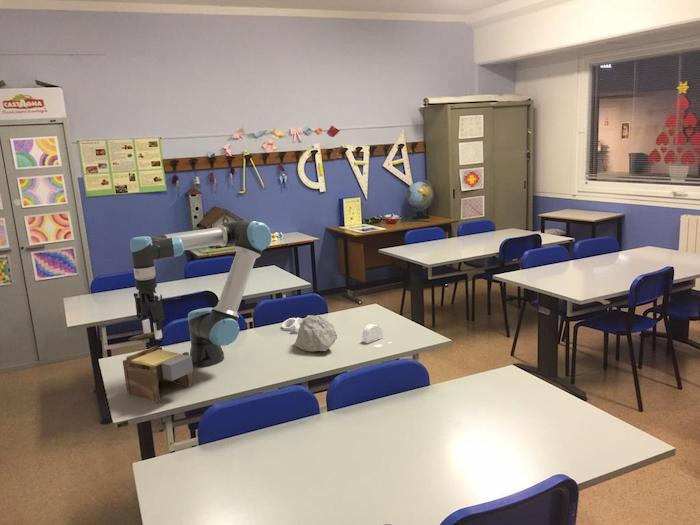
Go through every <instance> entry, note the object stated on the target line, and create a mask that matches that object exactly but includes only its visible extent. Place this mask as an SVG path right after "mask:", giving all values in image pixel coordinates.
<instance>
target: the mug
mask: <svg viewBox="0 0 700 525" xmlns="http://www.w3.org/2000/svg"><path fill="white" fill-rule="evenodd" d="M304 319H305V318H301V317H291V318H288V319H286V320H284V321H283V322H282V325H281V327H282V329H283V330H285V331H296V330H297V329H298V330H299V328H300V326H301V323H302V321H303V320H304ZM299 321H300V323H299Z"/></svg>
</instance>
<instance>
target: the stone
mask: <svg viewBox="0 0 700 525" xmlns="http://www.w3.org/2000/svg"><path fill="white" fill-rule="evenodd" d="M163 333H164V331H162V334H163ZM153 338H155V333H154V331H151V333H145V334H144V333H140V334H138V335H137V334H136V335H133V336H132V337H129V338H127V340H128V341H133V342H134V341H135V342H136V341H137V342H138V341H145V340H149V339H153Z"/></svg>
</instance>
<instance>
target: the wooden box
mask: <svg viewBox="0 0 700 525" xmlns="http://www.w3.org/2000/svg"><path fill="white" fill-rule="evenodd" d="M156 350H163V347H162V346H158V345H154V346H153V347H149V348H147V349H144V350H141V351H139V352H137V353H134V354H131V355H128V356H126V359H123V360H122V366H123V372H124V380H125V387H126V394H127V396H132V397H136V398H139V399H142V400H145V401H149V402H153V403H154V404H159V403H161V396H160V389H159V388H160V387H159V382H161V381H166V382H171V383H173V384H178V385H182V386H186V387H187V388H191V387H192V386H193V376H192V372H191V373H189V374H186V375H184V376H182V377H180V378H178V379H175V380H173V381H171V380H167V379H163V372H162V365H161V364H160V365H158V366H146V365H142V364H137V363H133V362H131V360H133V359H135V358H138V357H141V356H143V355H146V354H148V353H151V352H153V351H156ZM181 355H187V356H189V355H190V351H189V352H187V351H185V352H182V353H181Z"/></svg>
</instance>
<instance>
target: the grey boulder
mask: <svg viewBox="0 0 700 525" xmlns="http://www.w3.org/2000/svg"><path fill="white" fill-rule="evenodd" d="M303 319H304V320H303V321H302V323H301V322H300V328H298V330H297V332H298V334H297V337H296V339H295V342H294V344H293V345H294V346H295V347H297V348H298V349H300V350H302V351H306V352H326V351H328V350H329V348H331V347H332V346H333V344H335V342H336V340H337V339H338V334H337V332H336V330H335V329H336V328H335V325H334V324H332V323H331V322H330V321H329V320H328V319H327V318H326V317H323V316H322V315H320V314H316V315H313V314H312V315H306V317H304V318H303Z"/></svg>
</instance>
